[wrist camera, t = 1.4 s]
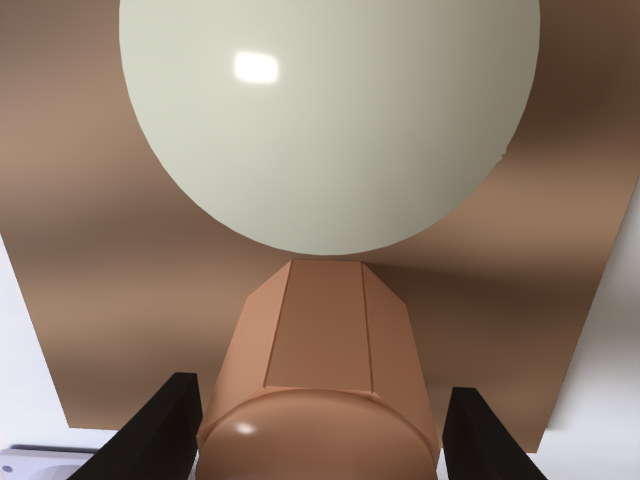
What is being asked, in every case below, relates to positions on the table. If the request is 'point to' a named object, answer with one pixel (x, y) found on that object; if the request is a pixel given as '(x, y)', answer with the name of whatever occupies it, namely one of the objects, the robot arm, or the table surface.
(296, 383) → the terracotta cup
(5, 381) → the table surface
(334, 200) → the pale green faceted cylinder
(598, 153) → the walnut board
